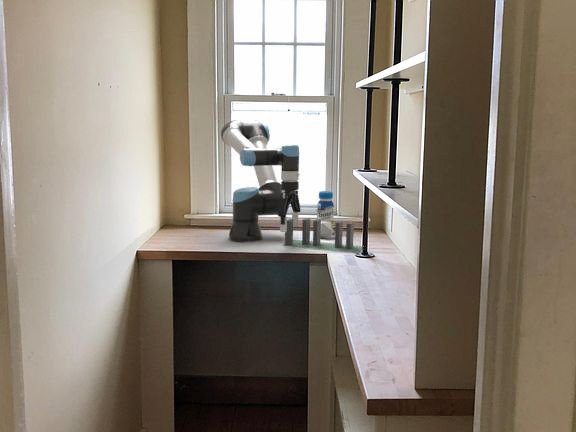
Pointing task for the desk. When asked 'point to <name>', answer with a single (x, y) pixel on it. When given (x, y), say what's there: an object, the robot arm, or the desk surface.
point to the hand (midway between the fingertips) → (289, 229)
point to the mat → (326, 247)
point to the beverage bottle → (325, 207)
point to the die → (326, 229)
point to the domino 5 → (349, 235)
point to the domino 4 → (338, 234)
